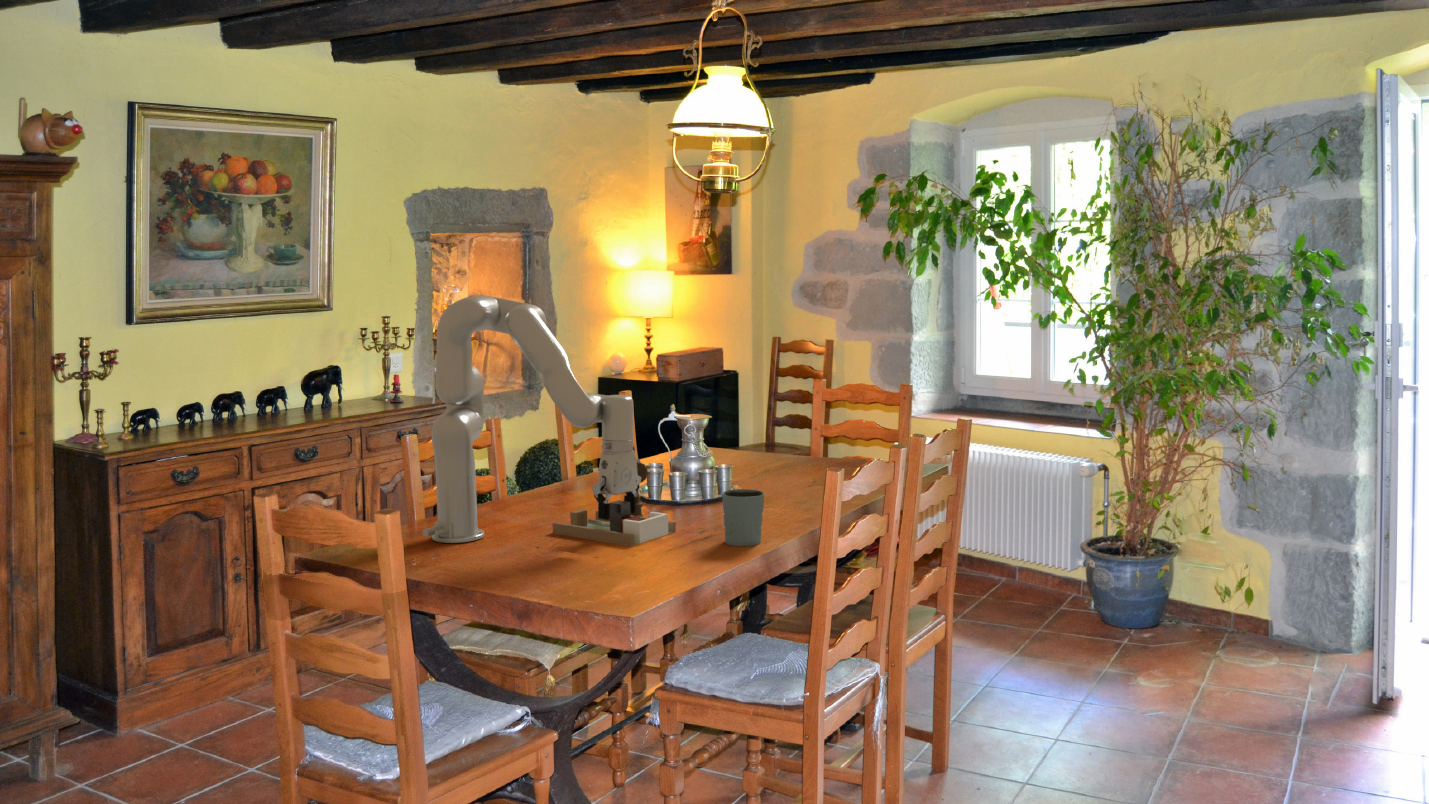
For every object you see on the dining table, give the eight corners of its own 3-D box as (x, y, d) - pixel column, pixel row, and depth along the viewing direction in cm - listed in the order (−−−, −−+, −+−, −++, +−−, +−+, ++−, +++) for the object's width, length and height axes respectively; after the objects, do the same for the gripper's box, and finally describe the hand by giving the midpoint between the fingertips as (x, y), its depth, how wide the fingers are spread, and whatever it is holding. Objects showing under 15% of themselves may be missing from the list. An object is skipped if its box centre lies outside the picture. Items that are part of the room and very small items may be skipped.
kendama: (642, 517, 304) (640, 442, 301) (650, 524, 294) (648, 447, 292) (619, 518, 302) (618, 443, 300) (627, 526, 293) (625, 449, 290)
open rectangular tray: (632, 551, 267) (631, 525, 267) (553, 537, 282) (552, 512, 281) (675, 536, 281) (675, 511, 280) (598, 524, 295) (597, 500, 295)
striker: (625, 536, 275) (624, 506, 274) (581, 529, 283) (580, 500, 282) (640, 531, 280) (640, 502, 279) (597, 524, 288) (596, 496, 287)
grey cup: (714, 543, 274) (713, 493, 273) (739, 534, 282) (738, 486, 281) (748, 549, 268) (747, 498, 267) (773, 540, 276) (772, 491, 274)
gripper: (606, 452, 268) (605, 523, 270) (651, 443, 282) (651, 511, 285) (581, 448, 273) (581, 519, 275) (628, 440, 287) (627, 507, 289)
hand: (617, 515), depth 280 cm, fingers open, 9 cm apart
